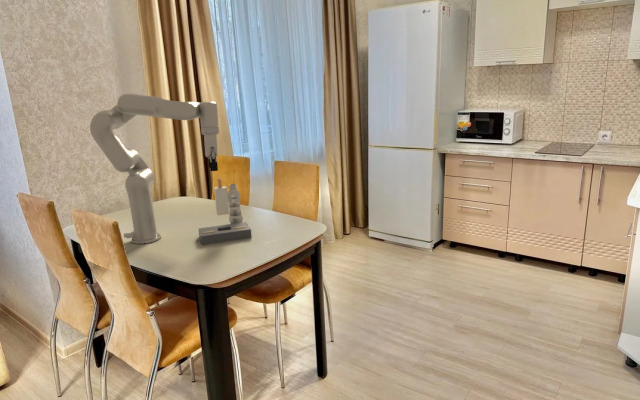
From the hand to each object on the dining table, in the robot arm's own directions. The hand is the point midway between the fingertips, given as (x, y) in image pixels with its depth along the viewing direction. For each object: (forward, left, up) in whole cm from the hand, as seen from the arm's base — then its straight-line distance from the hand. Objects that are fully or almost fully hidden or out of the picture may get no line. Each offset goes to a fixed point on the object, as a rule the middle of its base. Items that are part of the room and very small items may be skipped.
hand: (213, 169), depth 198 cm
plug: (+2, -5, -20) cm, 21 cm away
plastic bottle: (+10, +13, -31) cm, 35 cm away
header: (+2, -5, -31) cm, 31 cm away
